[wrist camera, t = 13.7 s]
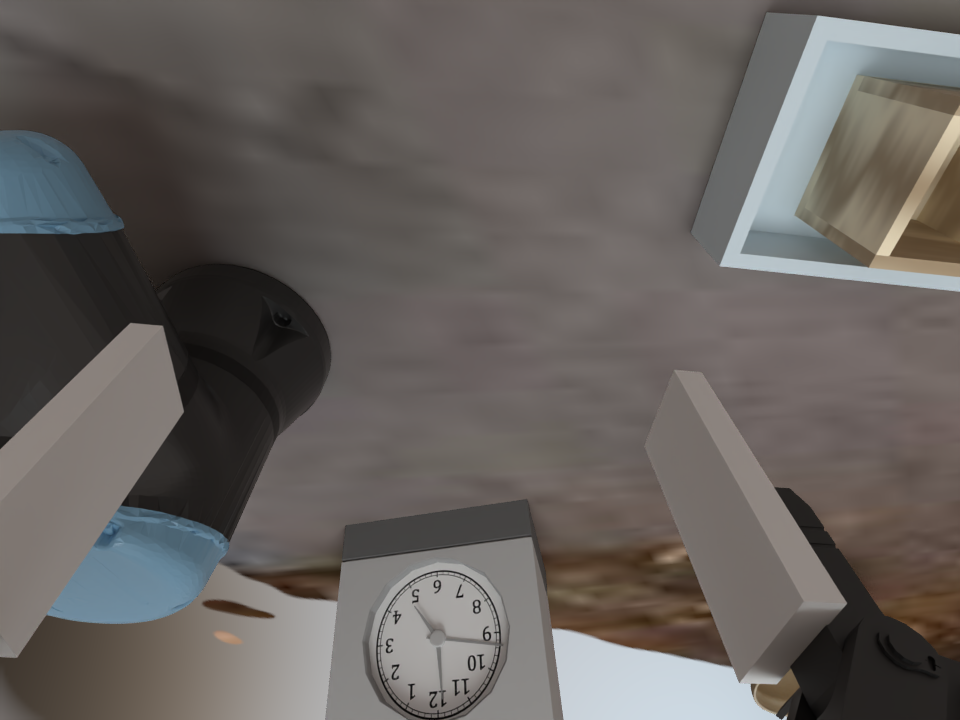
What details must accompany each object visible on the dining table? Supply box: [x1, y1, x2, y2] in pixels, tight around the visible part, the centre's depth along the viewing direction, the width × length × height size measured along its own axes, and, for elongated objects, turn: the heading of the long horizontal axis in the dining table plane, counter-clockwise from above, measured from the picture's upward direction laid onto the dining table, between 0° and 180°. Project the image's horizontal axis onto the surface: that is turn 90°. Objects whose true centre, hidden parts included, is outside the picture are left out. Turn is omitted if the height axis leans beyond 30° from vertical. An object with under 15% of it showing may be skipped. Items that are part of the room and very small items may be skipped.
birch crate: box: [794, 75, 960, 277], centre depth 32 cm, size 9×9×9 cm
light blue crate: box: [691, 12, 960, 291], centre depth 35 cm, size 14×22×6 cm, turn 84°
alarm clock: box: [325, 499, 563, 720], centre depth 54 cm, size 20×16×20 cm
